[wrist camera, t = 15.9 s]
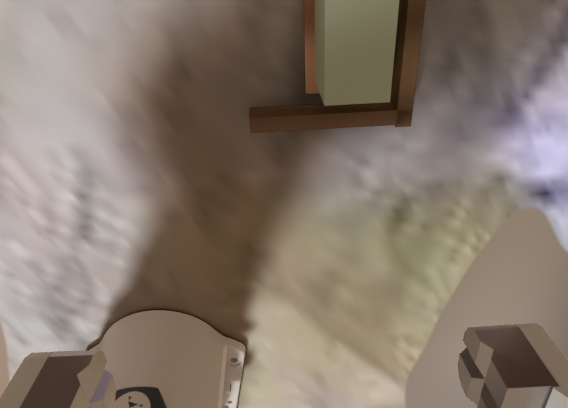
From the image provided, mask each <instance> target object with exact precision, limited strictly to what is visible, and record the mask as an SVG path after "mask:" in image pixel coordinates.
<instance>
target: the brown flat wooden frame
mask: <svg viewBox="0 0 568 408" xmlns="http://www.w3.org/2000/svg"><path fill="white" fill-rule="evenodd" d="M425 3H426V0H399V10H398V21H397V32H396V43H395V53H394V64H393V75H392V86H391V97H390V102H385V103H366V104H348V105H329V106H324V104H312V105H294V106H276V107H257V108H250V129H251V133H258V132H276V131H293V130H311V129H329V128H347V127H365V126H382V125H395V127H406V126H411V120H412V111H413V103H414V95H415V86H416V78H417V70H418V61H419V53H420V45H421V36H422V28H423V20H424V11H425ZM304 31H305V93H306V94H316V93H319V91H318V88H317V86H316V83H315V0H304Z"/></svg>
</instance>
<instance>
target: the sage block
mask: <svg viewBox="0 0 568 408" xmlns="http://www.w3.org/2000/svg"><path fill="white" fill-rule="evenodd" d="M398 10H399V0H315V83H316V86H317V88H318V91H319V93H320V96H321V98H322V101H323V104H324V106H329V105H348V104H366V103H385V102H390V97H391V86H392V75H393V64H394V53H395V43H396V32H397V21H398Z"/></svg>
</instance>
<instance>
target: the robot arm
mask: <svg viewBox="0 0 568 408" xmlns="http://www.w3.org/2000/svg"><path fill="white" fill-rule="evenodd" d="M463 341H464V343H465V345H466V347H467V348H466V349H465V350H464V351H462V353H460V356H459V361H458V371H459V378H460V381H461V385H462V387H463V390H464V392H465V394H466V397H468V398H469V399H470V400H471V401H473V402H474V403H475V404H477V405H478V407H477V408H568V360H567V359H566V357H565V356H564V355H563V354H562V352H561V351H560V349H559V348H558V347H557V346H556V344H555V343H554V342H553V340H552V339H551V338H550V336H549V335H548V334H547V333H546V331H545V330H544V329H543V327H542V326H540V325H539V324H537V323H530V324H515V325H497V326H483V327H470V328H468V329H467V330H466V331H465V334H464V338H463ZM245 351H246V348H245V346H244V345H243V344H242V343H240V342H238V341H236V340H233V339H231V338H228V337H225V336H223V335H221V334H220V333H218V332H217V331H216V330H215V329H213V328H212V327H211V326H210V325H208V324H207V323H205V322H203V321H202V320H200V319H198V318H195V317H193V316H190V315H187V314H184V313H179V312H174V311H166V310H152V311H143V312H138V313H134V314H131V315H129V316H126V317H124V318H122V319H120V320H118V321H117V322H115V323H114V324H113V325H112V326H111V327H110V328H109V329H108V330H107V332H106V333H105V335H104V337H103V338H102V340H101V342H100V343H99V344H98V345H96V346H95V347H93V348H91V349H90V350H88V351H58V352H40V353H31V354H30V355H28V356H27V357H26V358H25V359H24V360H23V362H22V363H21V365H20V367H19V368H18V370H17V371H16V373H15V375H14V376H13V378H12V380H11V381H10V383H9V384H8V386H7V388H6V389H5V391H4V393H3V394H2V396H1V398H0V408H237V402H238V396H239V389H240V383H241V377H242V370H243V364H244V358H245Z"/></svg>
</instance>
